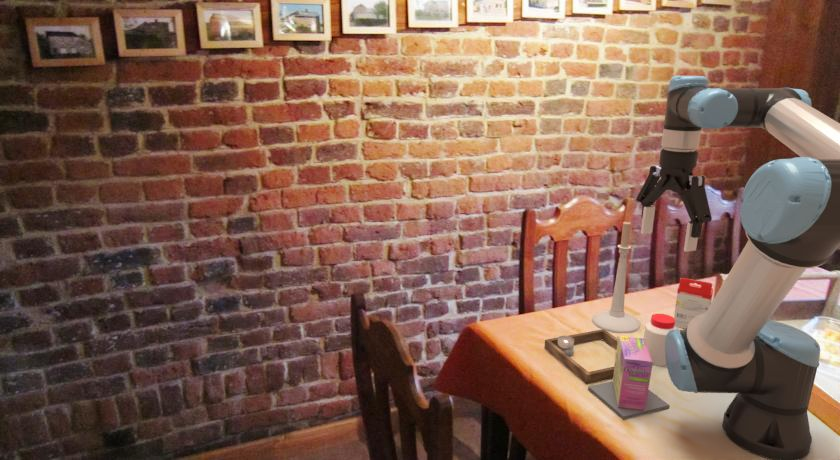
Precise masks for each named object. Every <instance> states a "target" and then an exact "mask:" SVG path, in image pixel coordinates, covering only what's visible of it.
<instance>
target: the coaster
mask: <svg viewBox="0 0 840 460" xmlns="http://www.w3.org/2000/svg"><path fill="white" fill-rule="evenodd" d="M587 387H588V389H587V391H590V392H591V393H592V394H593V395H594V396H595V398H597V399H598V400H599V401H600V402H602V403H603V404H604V405H605V406H606V407H608V409H610V410H611V411H612V410H613V411H614V412H613V411H612V412H613V413H614V414H615V415H617V416H618V417H619V418H620V417H621V419H622V421H624V420H627V419H631V418H635V417H640V416H644V415H648V414H652V413H656V412H660V411H664V410H667V409H670V404H669V403H668V402H666V401H665V400H664V399H662V398H661V397H660V396H658V395H657V394H655V392H653V391H651V390H650V389H649V388H648V395H647V401H646V408H645V411H644V410H635V409H626V408H619V407H618V405H617V399H616V394H615V390H614V385H613V380H612V381H608V382H607V381H606V382H603V383H602V382H601V383H598V384H594V385H589V386H587Z"/></svg>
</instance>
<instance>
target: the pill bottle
mask: <svg viewBox="0 0 840 460" xmlns="http://www.w3.org/2000/svg"><path fill="white" fill-rule="evenodd" d="M676 329H679V327H676V326H675V319H674V316H671V315H669V314H666V313H653V314H652V315H651V317H650V320H649V321H648V322H646V323H645V325H644V330H643V331H644V333H643V338H642V339H645V342H646V345H647V348H648V351H649V354H650V356H651V359H652V362H653V363H652V366H653V365H654V366H658V367H667V364H666V358H665V339H666V335H667V333H668V332H669V331H670V330H676Z"/></svg>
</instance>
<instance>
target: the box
mask: <svg viewBox="0 0 840 460" xmlns="http://www.w3.org/2000/svg"><path fill="white" fill-rule="evenodd" d="M617 339H618V342H617V350H616V349H615V350H616V351H615V360H614V366H613V367H614V375H613V378H612V381H613V385H614V390H615V394H616V399H617V405H618V407H619V408H626V409H635V410H644V411H645V408H646V401H647V395H648V389H649V387H650V380H651V375H652V369H653V364H652V363H653V362H652V359H651V356H650V354H649V351H648V348H647V345H646V342H645V339H643V338H642V337H632V336H624V335H623V336H622V335H619V336H617Z"/></svg>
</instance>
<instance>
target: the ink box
mask: <svg viewBox="0 0 840 460" xmlns="http://www.w3.org/2000/svg"><path fill="white" fill-rule="evenodd" d="M713 294H714V288H713V283H712V282H708V281H707V282H706V281H702V280H696V279H692V278H691V279H690V278H685V277H680V278H679V284H678V287H677V291H676V301H675V309H674V315H673V318H674V319H675V326H676V327H677V328H679V327H680V328H679V329H683V330H685V329H686V328H687V326H688V324H689V323H690V321H691V320H692V319H693V318H694V317H696V316H698V315H700V314H704V313H706V311H707V310H708V308H709V306H710V305H711V303H712V301H713Z"/></svg>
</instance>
